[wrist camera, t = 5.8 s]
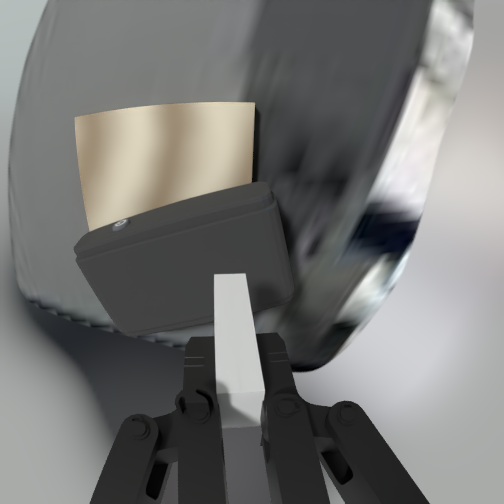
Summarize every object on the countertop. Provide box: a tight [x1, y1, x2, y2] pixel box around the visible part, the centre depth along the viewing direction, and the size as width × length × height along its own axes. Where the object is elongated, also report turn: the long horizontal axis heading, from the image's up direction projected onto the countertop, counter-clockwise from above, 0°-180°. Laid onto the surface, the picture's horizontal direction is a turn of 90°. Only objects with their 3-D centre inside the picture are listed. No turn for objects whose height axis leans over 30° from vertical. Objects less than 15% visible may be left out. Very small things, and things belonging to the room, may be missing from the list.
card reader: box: [74, 181, 295, 337], centre depth 21 cm, size 9×4×15 cm
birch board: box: [75, 102, 255, 231], centre depth 21 cm, size 13×18×1 cm
